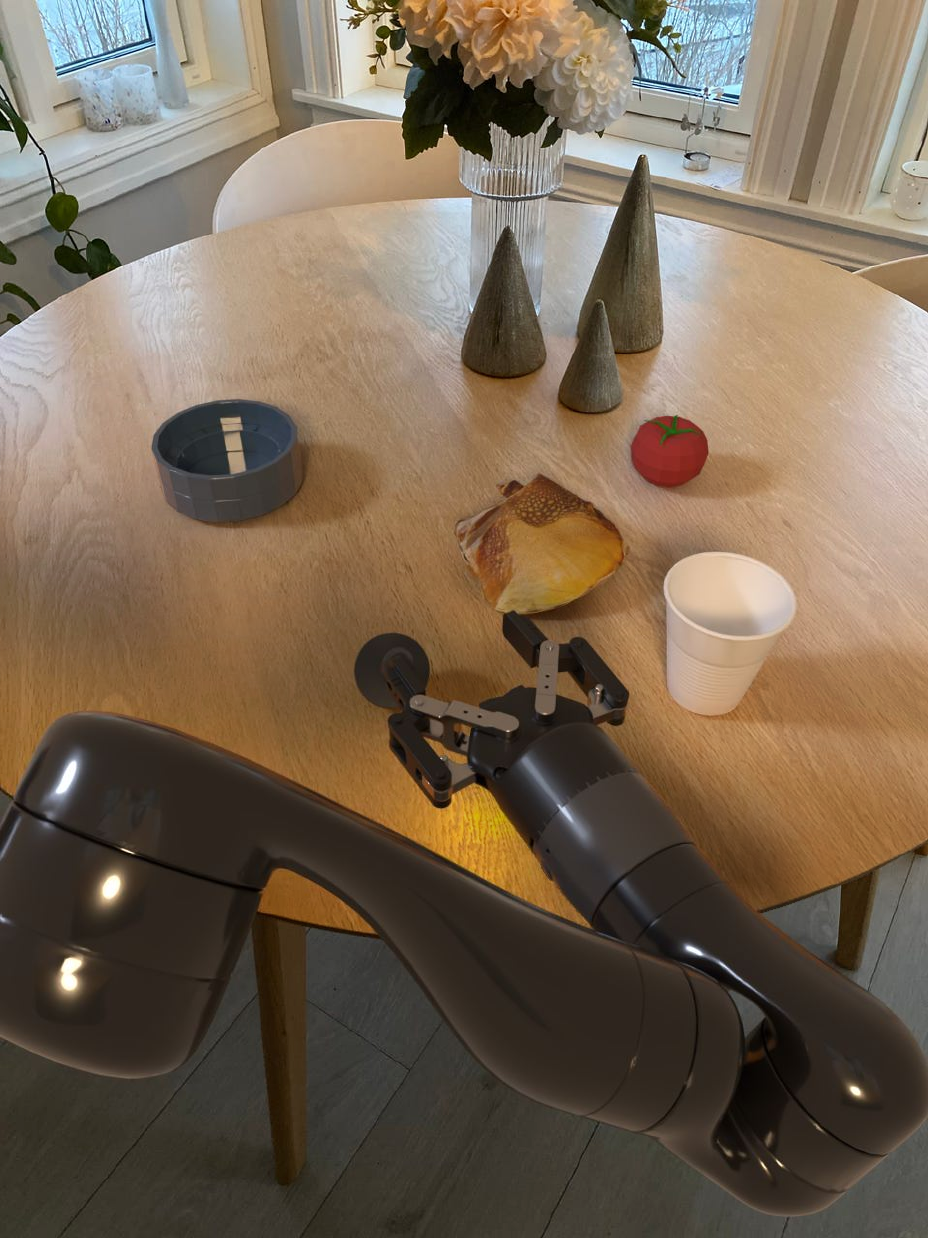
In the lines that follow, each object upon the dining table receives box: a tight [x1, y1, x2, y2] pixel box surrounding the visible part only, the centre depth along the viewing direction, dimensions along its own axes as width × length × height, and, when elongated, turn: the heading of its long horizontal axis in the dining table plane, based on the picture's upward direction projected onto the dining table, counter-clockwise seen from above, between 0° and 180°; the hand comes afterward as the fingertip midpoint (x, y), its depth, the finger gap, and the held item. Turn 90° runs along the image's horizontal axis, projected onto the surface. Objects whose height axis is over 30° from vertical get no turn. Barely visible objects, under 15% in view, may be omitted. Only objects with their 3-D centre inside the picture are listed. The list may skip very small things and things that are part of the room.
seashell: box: [452, 473, 631, 615], centre depth 90 cm, size 17×8×15 cm
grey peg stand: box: [353, 632, 431, 709], centre depth 70 cm, size 6×6×16 cm
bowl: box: [150, 398, 304, 523], centre depth 97 cm, size 14×14×6 cm
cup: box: [663, 551, 798, 717], centre depth 76 cm, size 10×10×11 cm
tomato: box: [630, 414, 710, 488], centre depth 99 cm, size 8×8×8 cm
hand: (451, 643), depth 63 cm, fingers open, 8 cm apart
